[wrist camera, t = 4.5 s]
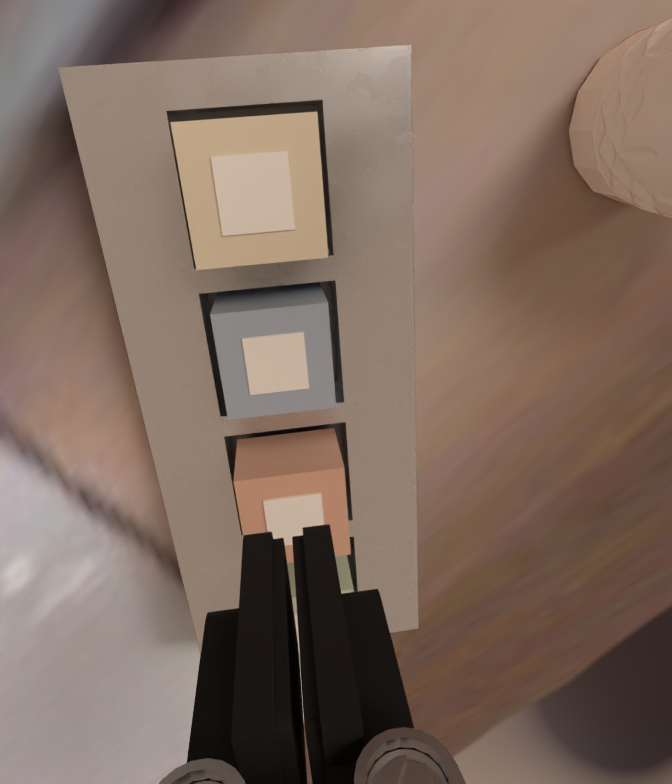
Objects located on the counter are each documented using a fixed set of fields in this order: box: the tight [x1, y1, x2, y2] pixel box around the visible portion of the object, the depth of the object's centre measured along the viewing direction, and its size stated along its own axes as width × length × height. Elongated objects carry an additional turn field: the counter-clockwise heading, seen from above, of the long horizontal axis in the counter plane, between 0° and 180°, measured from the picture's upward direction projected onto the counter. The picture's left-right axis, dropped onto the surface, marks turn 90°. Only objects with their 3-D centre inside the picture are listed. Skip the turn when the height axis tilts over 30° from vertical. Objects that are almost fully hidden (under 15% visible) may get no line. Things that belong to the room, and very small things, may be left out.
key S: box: [170, 112, 328, 270], centre depth 19 cm, size 4×4×4 cm
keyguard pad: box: [58, 45, 418, 654], centre depth 26 cm, size 12×28×3 cm, turn 4°
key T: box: [210, 282, 336, 420], centre depth 23 cm, size 4×4×4 cm
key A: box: [234, 428, 351, 563], centre depth 25 cm, size 4×4×4 cm
